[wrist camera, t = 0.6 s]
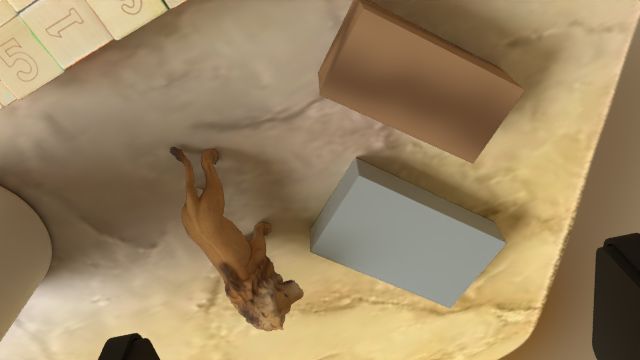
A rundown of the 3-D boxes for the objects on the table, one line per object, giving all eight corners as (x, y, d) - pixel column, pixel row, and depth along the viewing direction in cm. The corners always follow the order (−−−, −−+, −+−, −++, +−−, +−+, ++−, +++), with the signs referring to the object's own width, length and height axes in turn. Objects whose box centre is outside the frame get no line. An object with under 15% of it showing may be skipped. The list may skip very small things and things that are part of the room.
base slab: (355, 157, 40) (359, 175, 38) (494, 222, 44) (506, 243, 41) (309, 230, 44) (310, 251, 41) (442, 285, 47) (450, 308, 45)
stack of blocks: (6, 99, 37) (-114, 181, 27) (-63, 23, 34) (-227, 80, 24) (252, -49, 33) (228, -22, 22) (197, -151, 30) (139, -176, 19)
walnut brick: (355, -6, 34) (363, 8, 30) (499, 67, 37) (525, 90, 33) (318, 71, 37) (320, 95, 33) (454, 134, 40) (473, 163, 35)
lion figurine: (310, 248, 45) (312, 323, 37) (264, 276, 46) (256, 354, 38) (196, 126, 39) (168, 185, 31) (146, 163, 40) (108, 228, 32)
